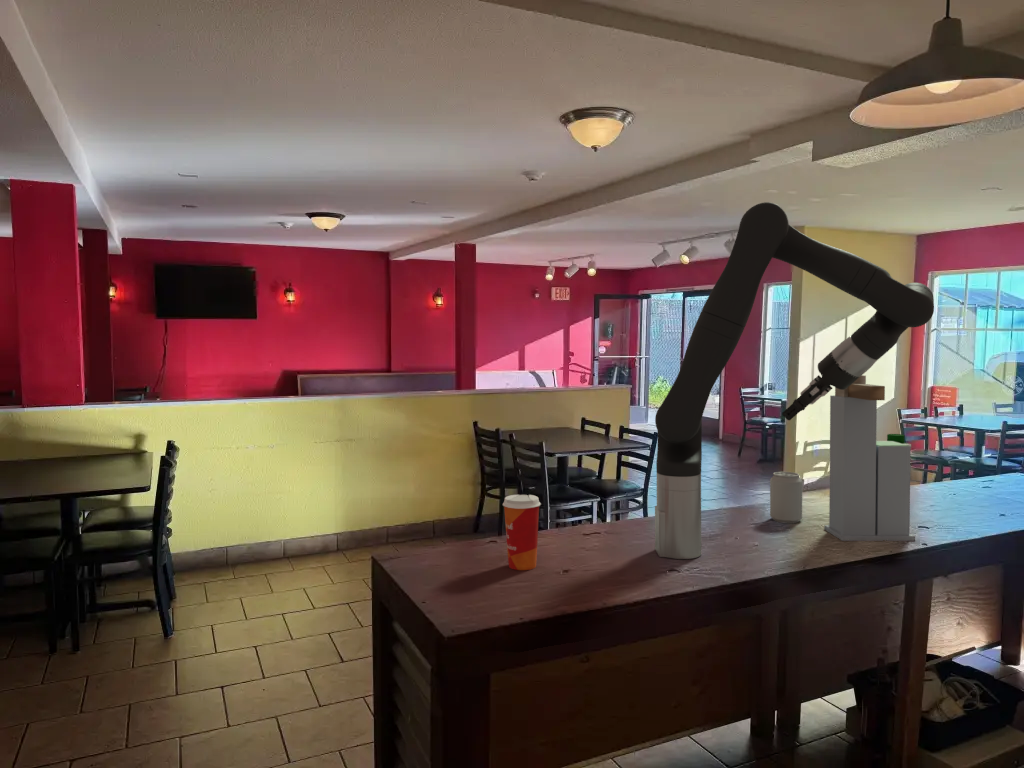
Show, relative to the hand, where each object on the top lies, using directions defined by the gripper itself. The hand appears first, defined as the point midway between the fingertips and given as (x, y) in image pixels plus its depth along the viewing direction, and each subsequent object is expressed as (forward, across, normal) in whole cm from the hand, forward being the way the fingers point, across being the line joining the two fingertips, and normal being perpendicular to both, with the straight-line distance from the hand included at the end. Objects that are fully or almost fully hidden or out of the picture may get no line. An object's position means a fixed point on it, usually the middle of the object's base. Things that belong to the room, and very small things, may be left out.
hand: (791, 411), depth 155 cm
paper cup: (+41, +53, -12) cm, 68 cm away
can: (+29, -15, +19) cm, 37 cm away
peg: (-8, -13, +8) cm, 17 cm away
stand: (+14, -12, +32) cm, 36 cm away
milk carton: (+19, -41, +35) cm, 57 cm away
